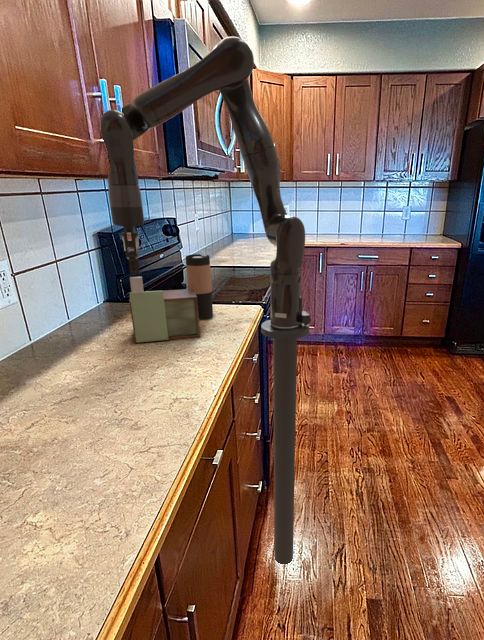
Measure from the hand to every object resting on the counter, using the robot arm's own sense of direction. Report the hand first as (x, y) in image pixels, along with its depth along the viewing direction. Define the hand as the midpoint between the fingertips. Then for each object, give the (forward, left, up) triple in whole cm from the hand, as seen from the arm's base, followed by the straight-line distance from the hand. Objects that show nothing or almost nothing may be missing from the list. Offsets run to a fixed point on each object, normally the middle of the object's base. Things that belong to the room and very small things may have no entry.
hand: (134, 270), depth 110 cm
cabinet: (-7, -6, -20) cm, 22 cm away
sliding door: (-2, 0, -20) cm, 20 cm away
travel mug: (-19, -21, -20) cm, 34 cm away
